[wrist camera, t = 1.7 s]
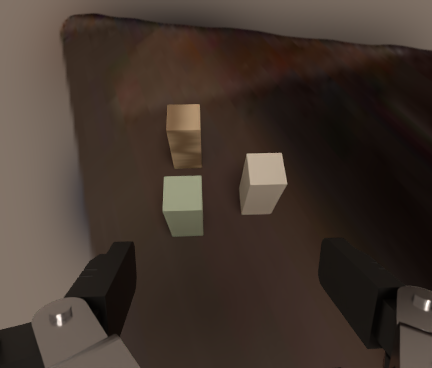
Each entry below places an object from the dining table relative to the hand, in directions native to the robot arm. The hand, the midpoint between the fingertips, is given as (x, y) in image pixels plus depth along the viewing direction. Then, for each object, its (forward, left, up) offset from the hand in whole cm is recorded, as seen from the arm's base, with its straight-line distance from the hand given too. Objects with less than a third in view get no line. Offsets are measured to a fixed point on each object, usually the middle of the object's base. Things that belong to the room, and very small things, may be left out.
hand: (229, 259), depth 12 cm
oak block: (-15, -18, -28) cm, 36 cm away
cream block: (-16, -4, -28) cm, 32 cm away
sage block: (-7, -10, -28) cm, 30 cm away
